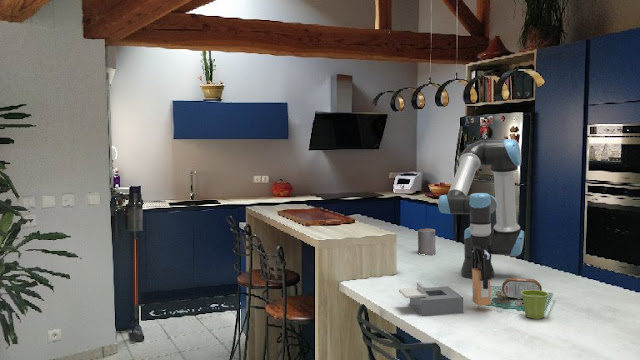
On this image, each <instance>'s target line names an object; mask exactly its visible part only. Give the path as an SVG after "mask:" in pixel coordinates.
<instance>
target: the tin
mask: <svg viewBox="0 0 640 360" xmlns="http://www.w3.org/2000/svg"><path fill="white" fill-rule="evenodd" d="M501 288H502V293H503V295H504V296H505V297H506V298H508V297H514V298H522V294H521V292H522V291H525V290H539V291H543V288H542V285H541V283H540V282H539V281H538V280H537V279H533V278H524V277H523V278H521V277H520V278H519V277H510V278H507V279H505V280H504V281H503V282H502V286H501Z"/></svg>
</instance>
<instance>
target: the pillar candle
mask: <svg viewBox="0 0 640 360" xmlns="http://www.w3.org/2000/svg"><path fill="white" fill-rule="evenodd" d="M417 249H418V250H417V251H418V252H417V254H418V253H420V254H425V255H430V256H434V255H436V229H434V228H428V227H426V228H420V229H418V230H417ZM433 254H434V255H433Z"/></svg>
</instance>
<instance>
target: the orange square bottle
mask: <svg viewBox="0 0 640 360" xmlns="http://www.w3.org/2000/svg"><path fill="white" fill-rule="evenodd" d="M471 279H472V280H471V281H472V283H471V284H472V303H474V304H475V305H476V306H488V305H490V306H491V304H492V303H491V301H492V300H491V299H492V298H491V297H492V296H491V293H492V292H491V290H492V289H491V280H488V294H489V297H481V281H480V279H482V277H481V268H480V262H479V263H478V268H473V269H472V278H471Z"/></svg>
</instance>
